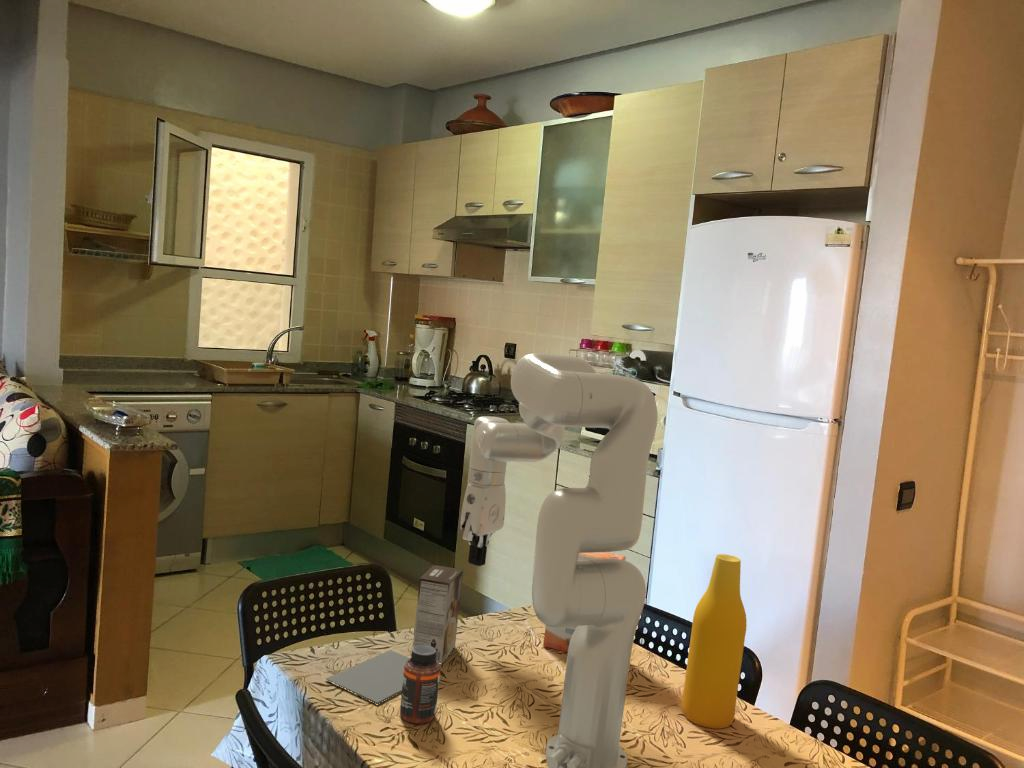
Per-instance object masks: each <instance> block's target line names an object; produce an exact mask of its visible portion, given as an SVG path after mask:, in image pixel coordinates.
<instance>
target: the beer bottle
mask: <svg viewBox="0 0 1024 768" xmlns="http://www.w3.org/2000/svg"><path fill="white" fill-rule="evenodd" d="M741 564H742V563H741V558H739V557H736V556H734V555H730V554H724V553H723V554H722V553H721V554H716V555H715V560H714V563H713V568H712V571H711V576H710V579H709V583H708V585H707V589H706V591H705V592H704V594H702V597H701V598H700V599H699V601H698V603H697V604H696V606H695V609H694V613H693V618H692V625H691V634H690V638H689V639H690V641H689V647H688V655H687V664H686V670H685V679H684V686H683V692H682V696H681V697H682V698H681V706H680V707H681V712H682V714H683V716H684V717H685V718H686V719H688V720H689V721H690V722H692V723H694V724H695V725H698V726H701V727H705V728H709V729H714V730H715V729H716V730H717V729H724V728H728V727H729V726H731V724H733V722H734V719H735V715H736V705H737V697H738V691H739V683H740V676H741V667H742V662H743V654H744V646H745V639H746V633H747V614H746V609H745V607H744V604H743V601H742V597H741V568H742V567H741Z"/></svg>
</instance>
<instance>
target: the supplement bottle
mask: <svg viewBox="0 0 1024 768" xmlns="http://www.w3.org/2000/svg"><path fill="white" fill-rule="evenodd" d="M409 658H410V659H409V660H407V661H406V663H405V666H404V674H403V685H402V693H401V696H400V697H401V698H400V705H399V706H400V707H399V715H400V717H401V718H402V719H403V720H404V721H406V722H408V723H411V724H418V725H420V724H421V725H422V724H425V723H426V724H427V723H430V722H431V721H433V720H434V719H435V717H436V715H437V709H438V708H437V707H438V699H439V697H438V696H439V689H440V688H439V687H440V676H441V664H439V663H438V661H436V659H435V658H436V649H435V648H433V647H431V646H428V645H418V646H415V647H413V646H412V649H411V655H410V657H409Z"/></svg>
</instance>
